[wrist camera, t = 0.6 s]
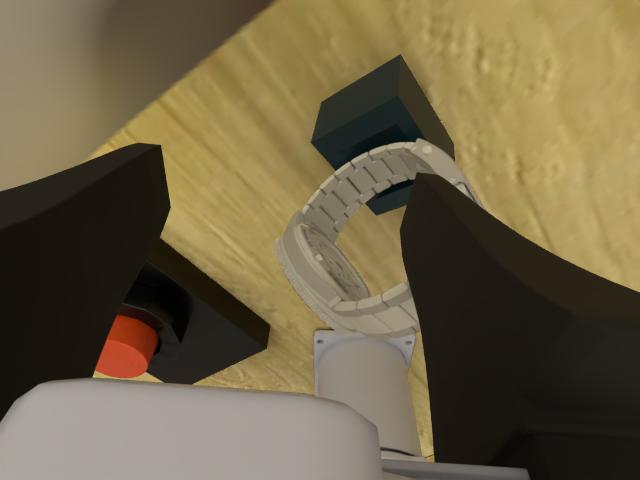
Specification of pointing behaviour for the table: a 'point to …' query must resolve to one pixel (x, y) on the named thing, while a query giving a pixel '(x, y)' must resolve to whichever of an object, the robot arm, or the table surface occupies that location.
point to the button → (127, 348)
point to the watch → (365, 196)
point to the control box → (191, 319)
